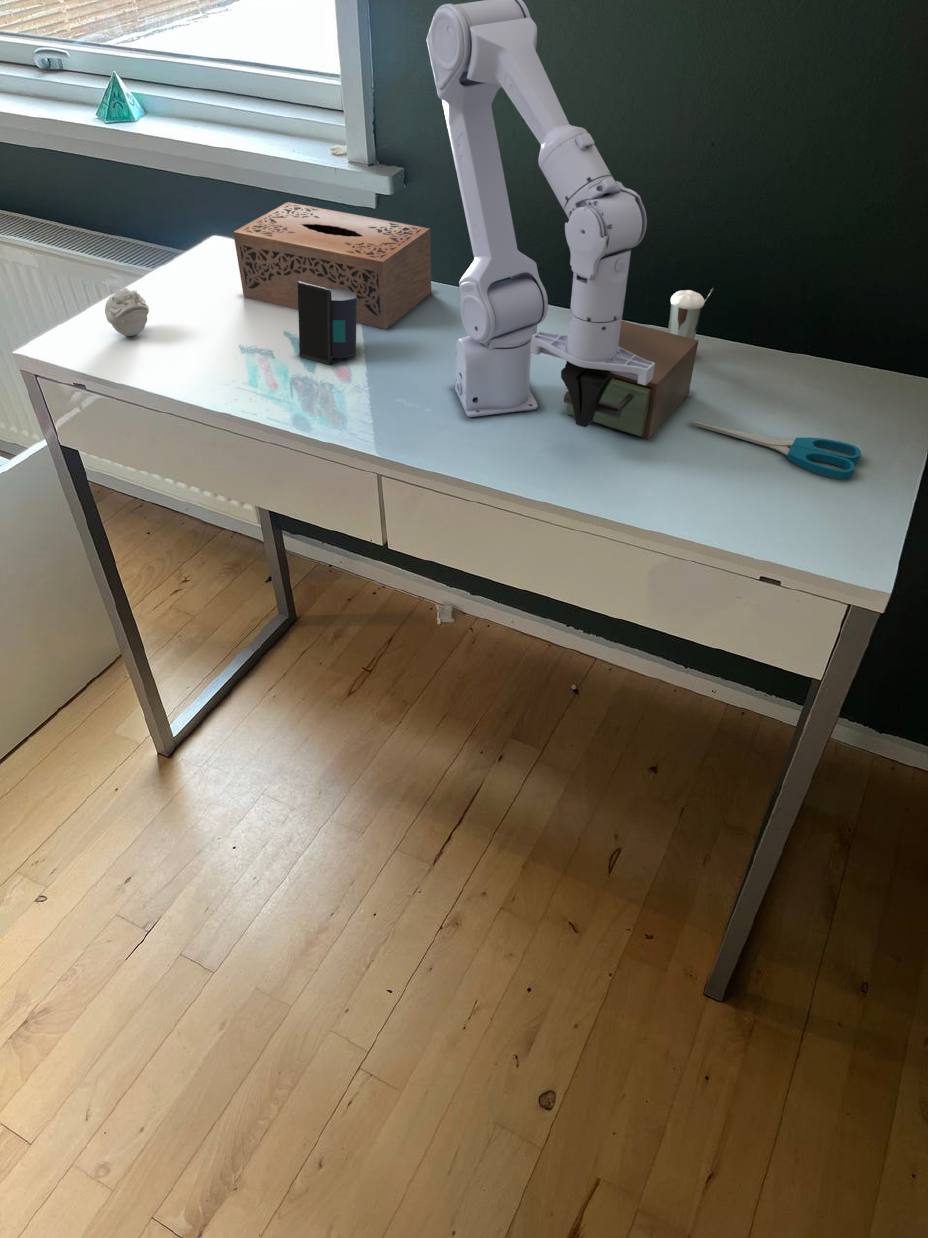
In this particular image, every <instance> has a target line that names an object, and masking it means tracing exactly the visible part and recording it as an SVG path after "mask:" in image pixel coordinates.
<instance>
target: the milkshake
mask: <svg viewBox="0 0 928 1238" xmlns="http://www.w3.org/2000/svg"><path fill="white" fill-rule="evenodd" d="M713 290H714V288H712V289H710V292H709V293H708V294H707V296H706V298H705V299H704V297H703V296H702V294H701V293H699V292H696V291H694V290H691V289H685V290H682V289H681V290H678V291H675V293H673V294H672V295H671V297H670V302H669V316H668V317H669V320H668V329H667V330H668V331H667V332H668V333H672V334H676V335H679V336H683V337H687V338H691V339H695V338H696V334H697V331H698V327H699V323H700V319H701V316H702V313H703V309H704V305H705V302H706V301H707V300H708V298H709V296H710V295H711V293H712V292H713Z"/></svg>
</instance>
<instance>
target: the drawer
mask: <svg viewBox="0 0 928 1238" xmlns="http://www.w3.org/2000/svg"><path fill="white" fill-rule="evenodd" d="M650 394H651V387H647V386H644V387H641V386H638V385H634V384H631V383H627V382H624V381H620V380H617V379H612V380H611V382H610V383H609V385H608V386H607V388H606V390H605V392H604V393H603V395H602V397H601V399H600V401H599V404H598V406H597V408H596V411H595V414H594V418H593V421H594V422H597V423H596V424H598V423H600V424H599V425H601V424H603V425H602V426H604V425H607V426H610V427H609V428H611V427H613V428H612V429H614V428H616V429H615V430H617V429H619V430H618V431H620V430H623V431H622V432H624V431H626V432H625V433H627V432H629V433H628V434H630V433H632V434H631V435H633V434H636V435H635V436H637V435H639V436H638V437H640V436H641V435H642V434H643V433H644V432H645V426H646V420H647V413H648V407H649V401H650ZM563 403H564V404H567V407H568V412H567V411H566V414H567V413H568V414H571V415H570V416H572V415H574V410H573V405H572V401H571V398H570V395H569V392H568V390H567V391H566V392H565V394H564V396H563ZM568 414H567V415H568ZM594 422H593V423H594ZM607 426H606V427H607Z"/></svg>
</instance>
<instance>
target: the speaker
mask: <svg viewBox="0 0 928 1238" xmlns="http://www.w3.org/2000/svg"><path fill="white" fill-rule="evenodd" d="M297 313H298V316H297V317H298V347H299V357H300V358H303V359H306V360H310V361H314V362H317V363H321V364H324V365H327V366H332V365H333V358H337V359H340V358H341V359H343V358H349V357H353V356H354V355H356V354H357V322H356V315H357V294H356V293H354V292H352V291H349V290H344V289H327V288H323V287H319V286H315V285H311V284H307V283H304V282H300V281H299V282H298V309H297Z"/></svg>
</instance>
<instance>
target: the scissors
mask: <svg viewBox="0 0 928 1238" xmlns="http://www.w3.org/2000/svg"><path fill="white" fill-rule="evenodd" d="M693 426H696V427H699V428H703V429H705V430H709V431H713V432H716V433H720V434H724V435H726V436H731V437H734V438H737V439H740V440H744V441H746V442H751V443H753V444H757V445H761V446H763V447H767V448H770V449H772V450H776V451H777V452H779V453H782V454H783V455H785V456H786V459H787V460H789V461H790V462H792V463H794V464H795V465H797V466H799V467H801V468H804V469H805V470H808V471H810V472H813V473H816V474H818V475H822V476H825V477H829V478H834V479H839V480H847V479H849V478H852V477H853V474H854V471H855V469H856V465H855V464H858V462H859V461H860V457H861V454H862V452H861V450H860V448H859V447H858V446H856V445H854V444H851V443H847V442H843V441H839V440H834V439H829V438H820V437H795V439H784V438H783V439H782V438H781V439H779V438H773V437H769V436H764V435H759V434H754V433H750V432H746V431H740V430H735V429H730V428H726V427H721V426H718V425H712V424H707V423H704V422H699V421H694V422H693ZM789 447H790V448H789ZM820 447H821V448H820ZM822 448H827V449H832V450H836V451H840V452H844V453H847V454H850V455H846V454H845V455H844V454H841V453H837V452H834V451H833V452H832V451H829V450H825V449H822ZM814 461H817V462H822V463H826V464H831V465H835V466H838V467H842V468H844V469H839V468H834V467H830V466H826V465H822V464H819V463H816V462H814Z"/></svg>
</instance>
